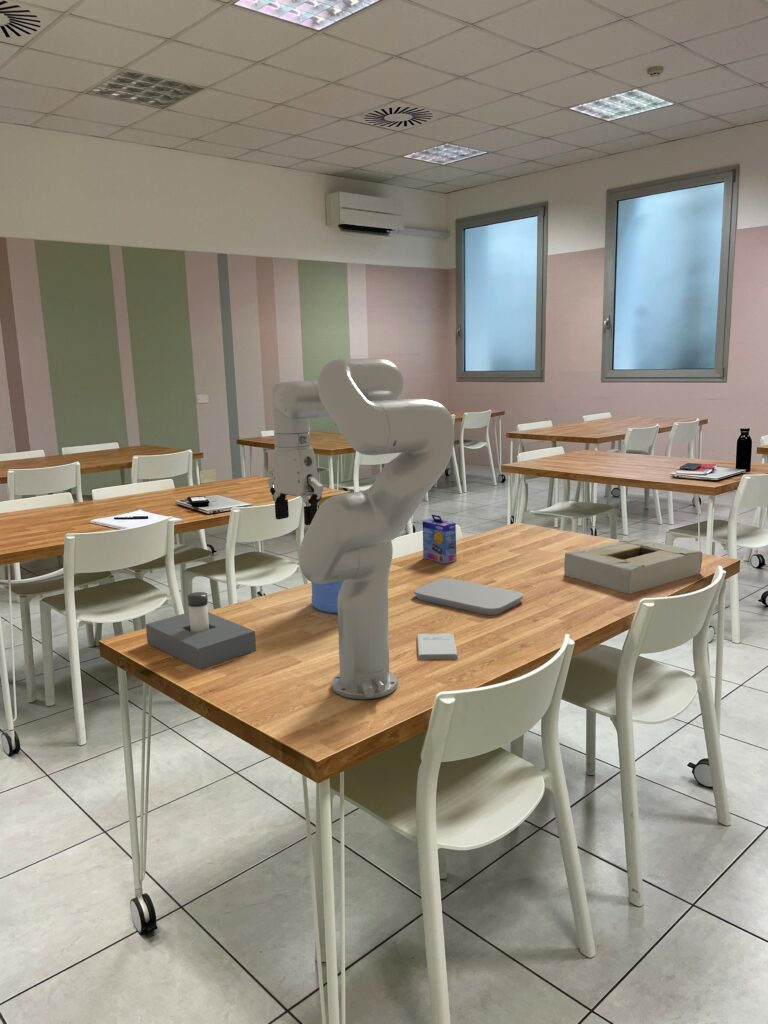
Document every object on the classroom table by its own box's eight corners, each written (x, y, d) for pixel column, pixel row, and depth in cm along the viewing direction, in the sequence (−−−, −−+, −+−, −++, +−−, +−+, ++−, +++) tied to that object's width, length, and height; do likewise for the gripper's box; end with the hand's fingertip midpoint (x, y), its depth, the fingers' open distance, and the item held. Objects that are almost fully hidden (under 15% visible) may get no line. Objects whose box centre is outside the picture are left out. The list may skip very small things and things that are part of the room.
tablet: (444, 584, 211) (444, 577, 211) (527, 602, 195) (527, 593, 195) (409, 599, 199) (409, 591, 198) (494, 619, 183) (495, 610, 182)
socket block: (256, 650, 165) (254, 630, 164) (199, 669, 155) (198, 648, 154) (201, 627, 180) (200, 609, 179) (147, 643, 170) (145, 624, 170)
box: (630, 597, 198) (702, 574, 216) (631, 568, 196) (703, 548, 214) (562, 578, 217) (633, 559, 235) (562, 552, 215) (634, 535, 233)
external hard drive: (418, 661, 158) (417, 639, 171) (457, 661, 158) (453, 639, 170) (418, 654, 158) (417, 633, 170) (457, 653, 158) (453, 632, 170)
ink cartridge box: (421, 558, 238) (421, 513, 235) (434, 555, 242) (433, 510, 239) (444, 564, 231) (444, 517, 228) (457, 560, 234) (456, 515, 232)
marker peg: (211, 649, 166) (207, 596, 164) (191, 651, 165) (187, 598, 163) (210, 642, 170) (206, 591, 168) (191, 644, 169) (187, 593, 167)
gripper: (333, 441, 155) (336, 523, 158) (281, 437, 167) (285, 513, 170) (305, 445, 150) (309, 529, 153) (253, 440, 162) (257, 519, 165)
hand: (296, 521), depth 162 cm, fingers open, 9 cm apart
